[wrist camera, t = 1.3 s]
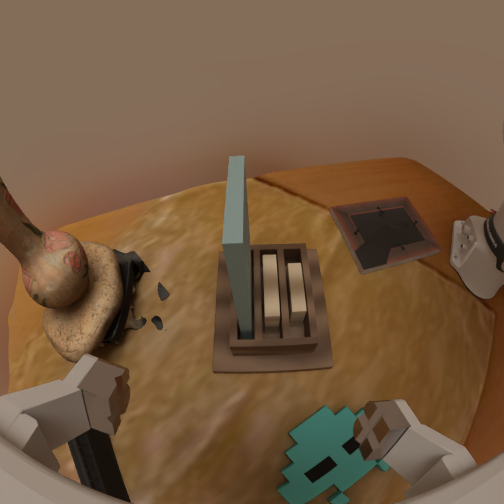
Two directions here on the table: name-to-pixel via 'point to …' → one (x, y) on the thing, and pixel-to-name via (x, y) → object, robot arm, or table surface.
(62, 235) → the vase
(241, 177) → the sheet
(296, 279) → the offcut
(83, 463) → the magazine
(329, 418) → the alien figure
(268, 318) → the block
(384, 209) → the picture frame
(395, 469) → the robot arm
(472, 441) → the table surface
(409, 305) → the table surface
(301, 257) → the rack
